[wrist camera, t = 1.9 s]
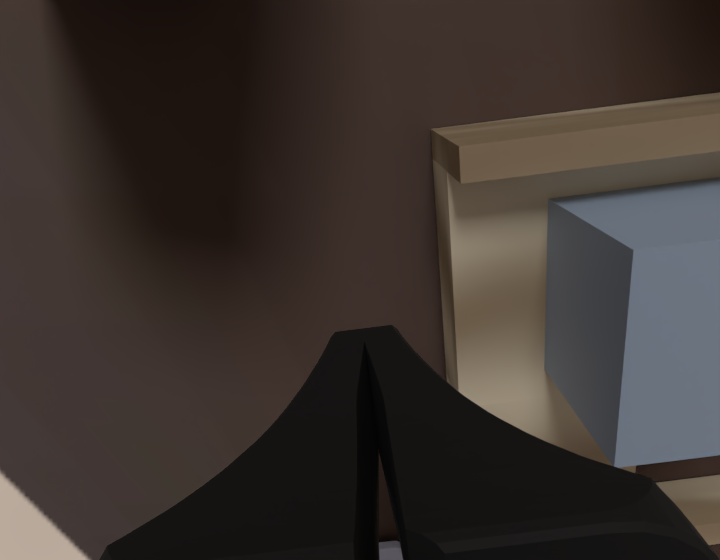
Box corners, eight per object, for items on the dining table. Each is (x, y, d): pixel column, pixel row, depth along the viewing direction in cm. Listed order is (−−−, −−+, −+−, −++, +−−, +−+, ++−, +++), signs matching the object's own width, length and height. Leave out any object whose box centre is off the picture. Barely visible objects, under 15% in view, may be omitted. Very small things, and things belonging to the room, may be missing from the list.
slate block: (717, 347, 15) (845, 439, 11) (544, 369, 15) (613, 468, 11) (746, 173, 13) (911, 214, 9) (548, 199, 13) (633, 250, 9)
